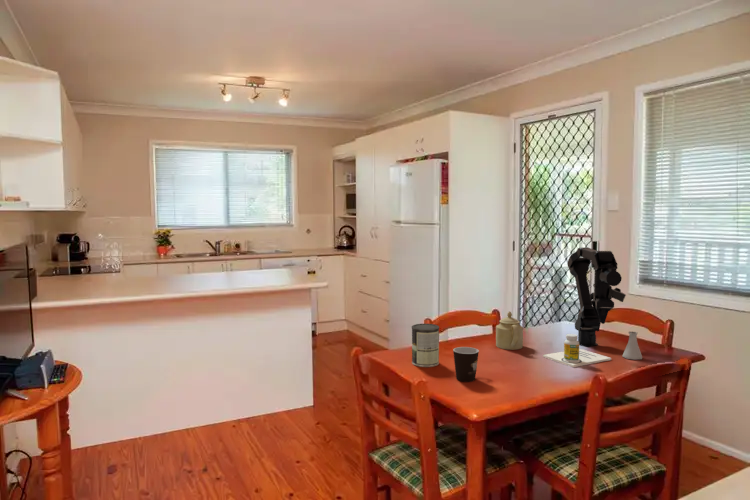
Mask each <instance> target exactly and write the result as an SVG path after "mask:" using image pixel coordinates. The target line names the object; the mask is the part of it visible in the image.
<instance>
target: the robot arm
mask: <svg viewBox="0 0 750 500" xmlns="http://www.w3.org/2000/svg"><path fill="white" fill-rule="evenodd" d="M591 263H592V264H593V268H592V269H593V271H594V277H593V278H594V281H593V282H594V283H593V285H592V286H593V292H590V287H589V282H588V276H587V274H588V272H589V270H590V264H591ZM566 266H567V268H568V269H569V273H570V274H571V275H572V277H574V280H575V285H576V291H577V292H576V293H577V296H578V301H579V306H580V309H579V311H578V315H577V319H576V321H575V322H574V329H575V330H576V331H578V332H577V333H578V335H577V336H578V339H577V340H578V341H579V346H584V347H588V348H589V347H593V346H598V343H597V335H596V332H599V331H600V328H601V324H602V325H603V324H606V321H607V317H608V314H609V312H610V311H611V310H614V308H615V302H614V301H613V300H612V299H614V300H617V301H619V302H620V303H623V302H624V300H625V299H626V296H627V294H626V293H623V292H622V290H621V289H620V288H618V287H616V286H619V285H620V283H621V281H622V276H621V274H620V272H619V271H617V269H618V263H617V260H616V258H615V255H614V253H613V251H611V250H596V249H593V248H590V247H587V246H586V247H579V248H577V249H576V251H575V252H574V253H572V254H570V255H569V257H568V259H567V265H566ZM613 287H615V288H613Z"/></svg>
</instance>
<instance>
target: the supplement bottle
mask: <svg viewBox="0 0 750 500" xmlns="http://www.w3.org/2000/svg"><path fill="white" fill-rule="evenodd" d="M565 338H566V339H565V340H564V342H563V344H564V345H563V351H564V360H566V361H569V362H577V361H579V349H580V344H579V341H578V335H577V334H575V333H567V334H566V335H565Z"/></svg>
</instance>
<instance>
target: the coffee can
mask: <svg viewBox="0 0 750 500" xmlns="http://www.w3.org/2000/svg"><path fill="white" fill-rule="evenodd" d="M439 332H440V326H439V325H437V324H433V323H416V324H413V325H412V326H411V353H412V354H411V364H412V365H414V366H416V367H419V368H432V367H436V366H438V365H439V364H440V362H439V361H440V357H439V355H440V353H439V352H440V333H439Z"/></svg>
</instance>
